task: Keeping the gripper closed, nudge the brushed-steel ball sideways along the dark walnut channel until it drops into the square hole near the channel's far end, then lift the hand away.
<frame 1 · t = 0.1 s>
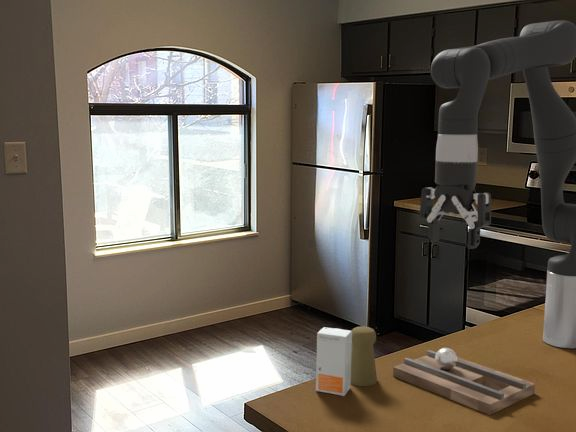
hand: (452, 244, 123), 29 cm above the counter, tool pointing down, fingers open, 8 cm apart
steel ball: (446, 358, 133), point 4 cm above the counter, touching walnut channel
olive knob stopper: (362, 381, 133), on the counter
skincare box: (333, 391, 128), on the counter
walnut channel: (461, 384, 131), on the counter
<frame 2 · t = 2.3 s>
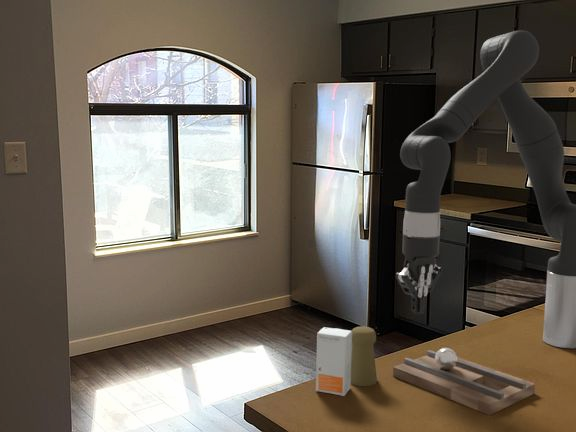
hand: (417, 313, 138), 12 cm above the counter, tool pointing down, fingers closed
nothing on the counter moved.
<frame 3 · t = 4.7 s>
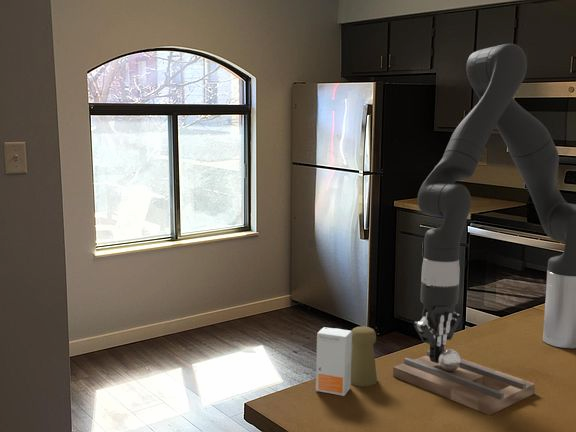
hand: (436, 361, 135), 3 cm above the counter, tool pointing down, fingers closed
steel ball: (449, 360, 133), point 4 cm above the counter, tilted 21°, touching gripper, walnut channel
everything else where it was.
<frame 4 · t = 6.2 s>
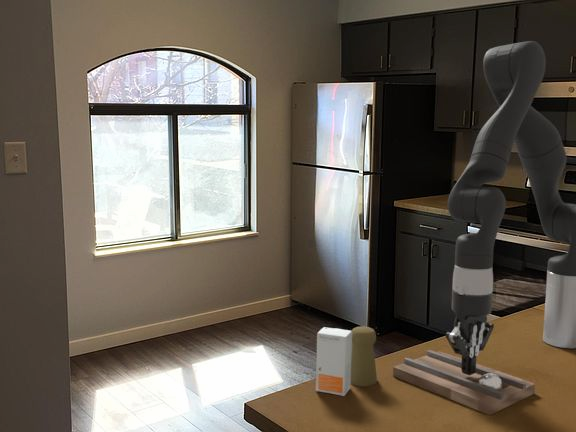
hand: (468, 373, 129), 3 cm above the counter, tool pointing down, fingers closed
steel ball: (490, 384, 125), point 2 cm above the counter, tilted 108°
everything else where it was.
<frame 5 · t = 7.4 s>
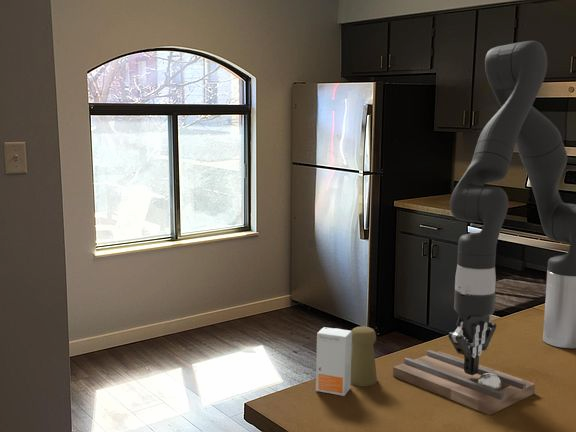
hand: (470, 373, 129), 3 cm above the counter, tool pointing down, fingers closed
steel ball: (489, 384, 125), point 2 cm above the counter, tilted 114°
everything else where it was.
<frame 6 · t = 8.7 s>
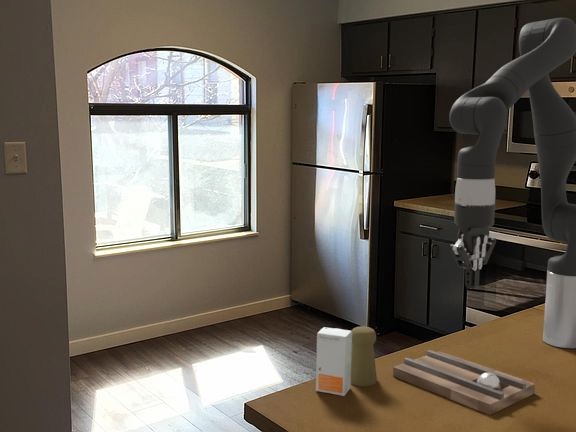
hand: (471, 287, 130), 20 cm above the counter, tool pointing down, fingers closed
steel ball: (488, 384, 126), point 2 cm above the counter, tilted 121°
everything else where it was.
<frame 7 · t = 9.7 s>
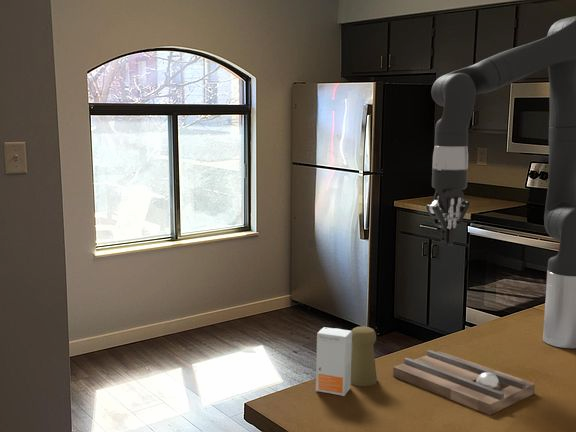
hand: (446, 244, 145), 25 cm above the counter, tool pointing down, fingers closed
steel ball: (487, 383, 126), point 2 cm above the counter, tilted 126°
everything else where it was.
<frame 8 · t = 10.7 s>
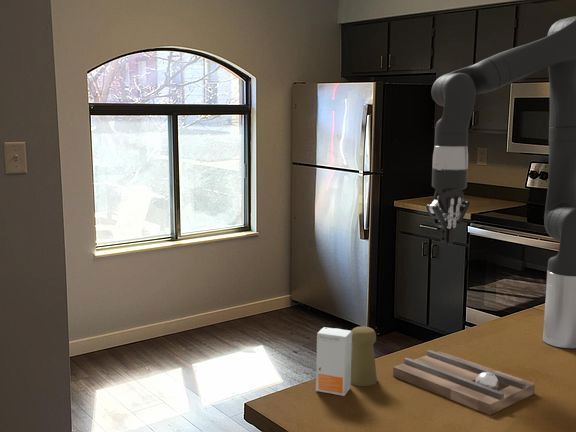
hand: (446, 244, 145), 25 cm above the counter, tool pointing down, fingers closed
steel ball: (486, 383, 126), point 2 cm above the counter, tilted 131°
everything else where it was.
at the end: steel ball 0.2 cm from the target spot on the walnut channel, point 2.2 cm above the walnut channel's base; steel ball touching counter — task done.
